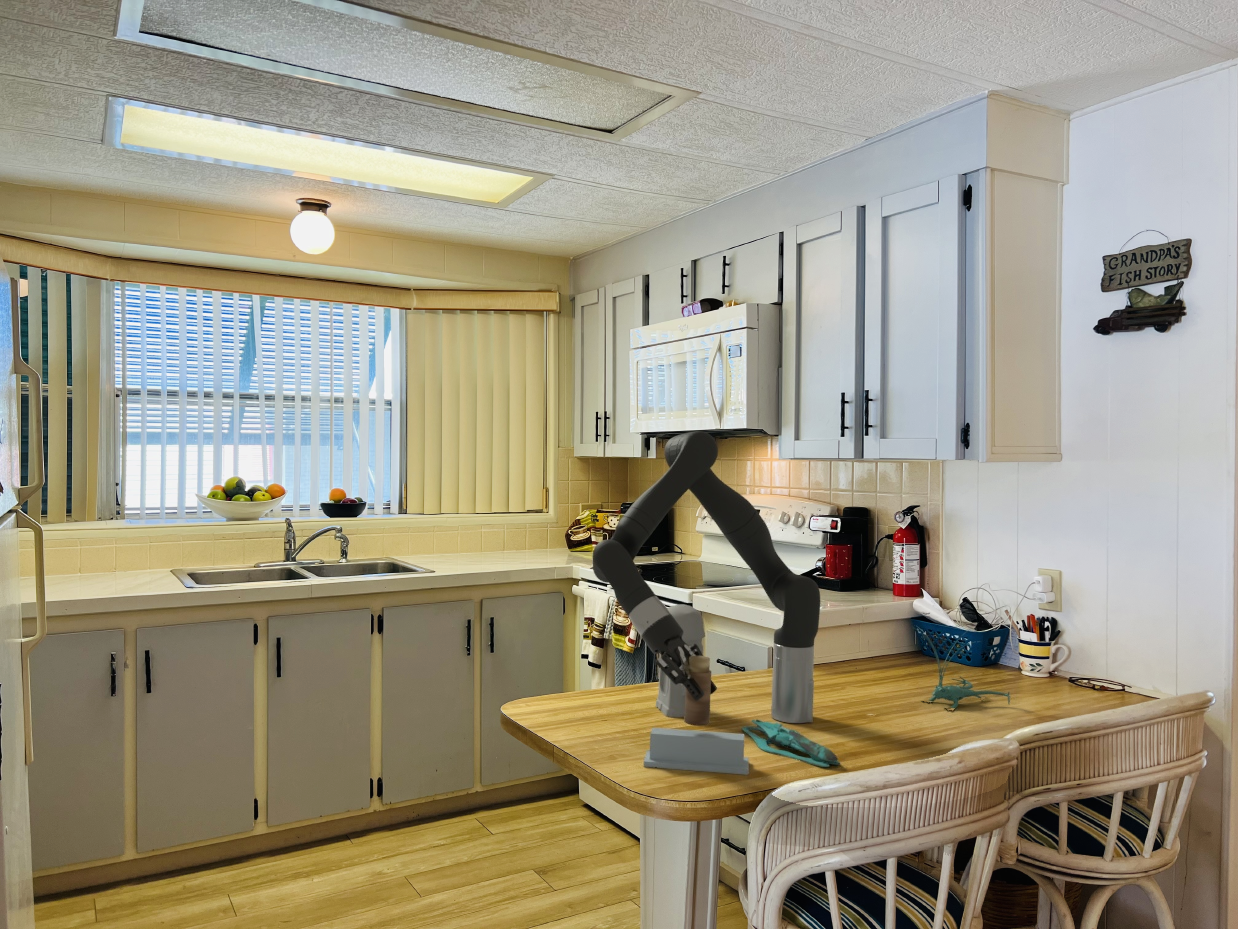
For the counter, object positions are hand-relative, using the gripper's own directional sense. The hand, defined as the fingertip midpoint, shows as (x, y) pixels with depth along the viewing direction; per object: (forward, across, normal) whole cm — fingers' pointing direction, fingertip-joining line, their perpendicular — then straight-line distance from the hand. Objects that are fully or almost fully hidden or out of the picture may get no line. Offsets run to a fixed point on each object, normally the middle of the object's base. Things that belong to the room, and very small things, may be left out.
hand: (706, 694), depth 176 cm
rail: (+9, 0, +11) cm, 14 cm away
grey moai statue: (-6, +31, +26) cm, 41 cm away
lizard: (+30, +78, -10) cm, 84 cm away
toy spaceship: (+16, +21, +4) cm, 27 cm away
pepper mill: (+3, 0, +5) cm, 6 cm away
